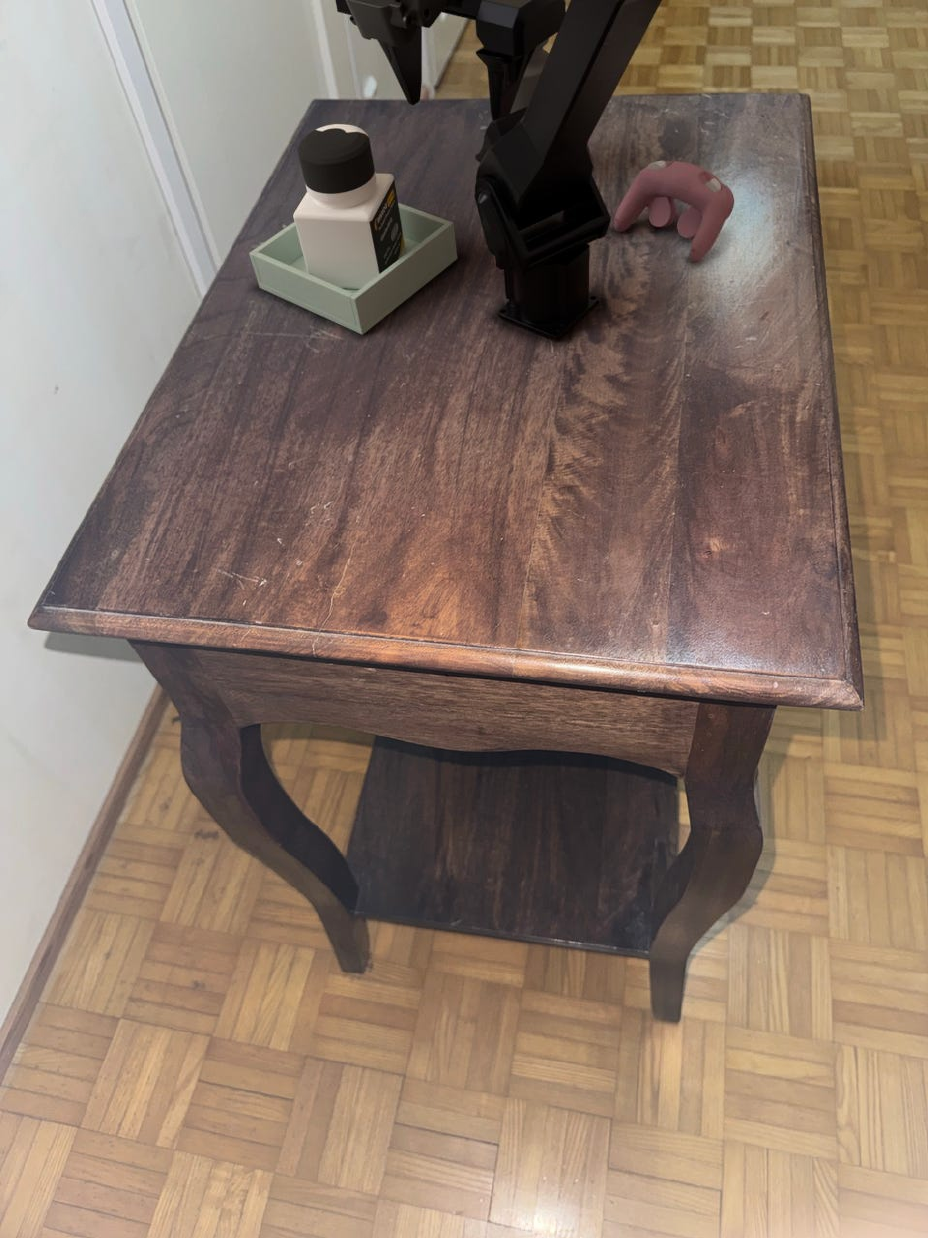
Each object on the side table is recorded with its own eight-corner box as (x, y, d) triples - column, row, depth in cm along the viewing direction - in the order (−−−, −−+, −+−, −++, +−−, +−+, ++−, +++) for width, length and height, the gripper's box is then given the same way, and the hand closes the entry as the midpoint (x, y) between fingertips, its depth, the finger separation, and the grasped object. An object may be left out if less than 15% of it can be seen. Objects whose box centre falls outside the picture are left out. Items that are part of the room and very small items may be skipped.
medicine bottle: (384, 292, 81) (359, 159, 71) (310, 287, 83) (275, 156, 73) (406, 246, 85) (385, 114, 75) (335, 242, 87) (305, 113, 77)
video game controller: (719, 263, 82) (750, 181, 79) (696, 265, 79) (726, 179, 75) (631, 229, 87) (656, 149, 83) (605, 229, 84) (630, 146, 80)
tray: (457, 258, 84) (453, 222, 81) (362, 334, 79) (354, 299, 76) (355, 219, 90) (347, 183, 87) (259, 287, 84) (248, 252, 82)
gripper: (259, -95, 64) (310, 132, 76) (465, -55, 56) (484, 191, 68) (365, -146, 68) (397, 76, 81) (570, -116, 60) (570, 125, 73)
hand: (456, 115), depth 75 cm, fingers open, 9 cm apart
